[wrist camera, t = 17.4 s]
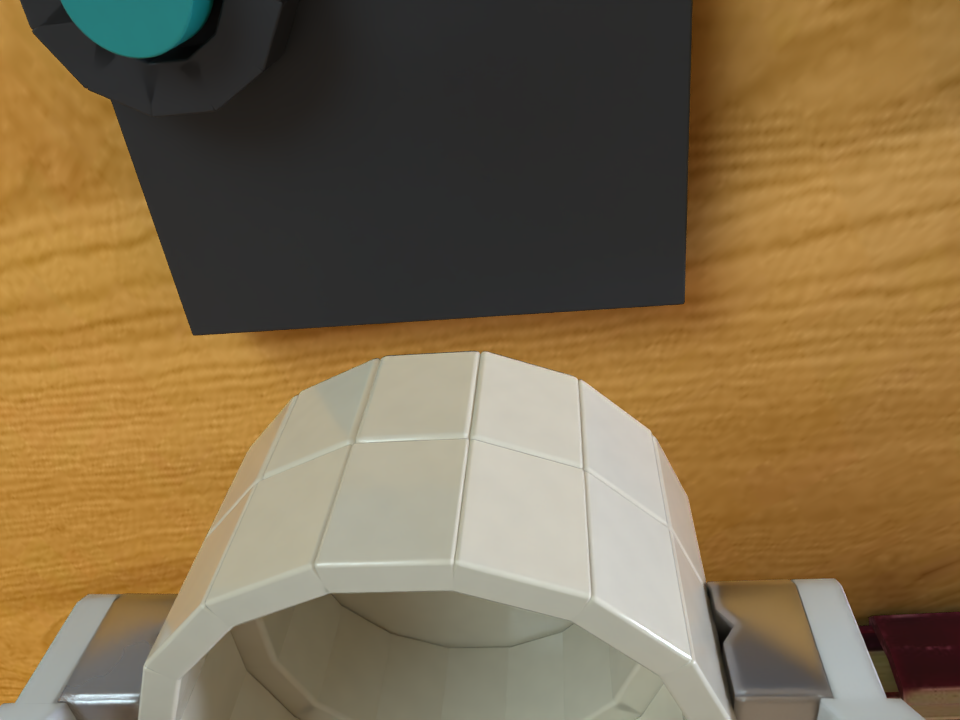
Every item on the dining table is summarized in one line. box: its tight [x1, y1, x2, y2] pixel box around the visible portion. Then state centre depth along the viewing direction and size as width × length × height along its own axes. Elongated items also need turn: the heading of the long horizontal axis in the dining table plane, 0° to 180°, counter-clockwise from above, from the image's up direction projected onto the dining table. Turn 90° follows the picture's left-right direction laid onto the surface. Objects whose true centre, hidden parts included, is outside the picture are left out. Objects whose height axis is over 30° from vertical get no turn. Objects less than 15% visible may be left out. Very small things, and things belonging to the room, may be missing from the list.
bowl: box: [138, 351, 736, 720], centre depth 10 cm, size 6×6×4 cm
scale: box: [20, 0, 693, 335], centre depth 20 cm, size 14×12×4 cm
